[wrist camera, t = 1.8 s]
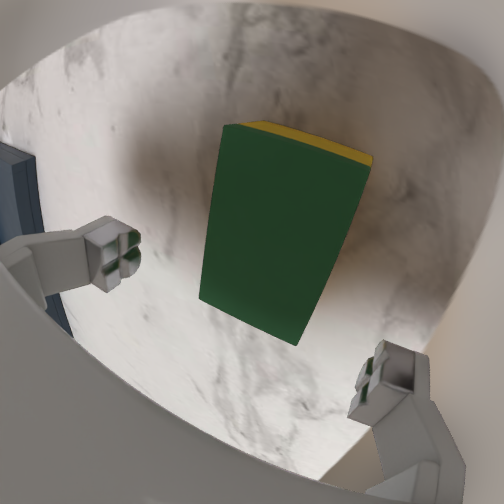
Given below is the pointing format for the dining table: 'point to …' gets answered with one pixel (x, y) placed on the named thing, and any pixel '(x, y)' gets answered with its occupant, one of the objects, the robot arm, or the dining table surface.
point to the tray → (23, 211)
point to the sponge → (277, 223)
